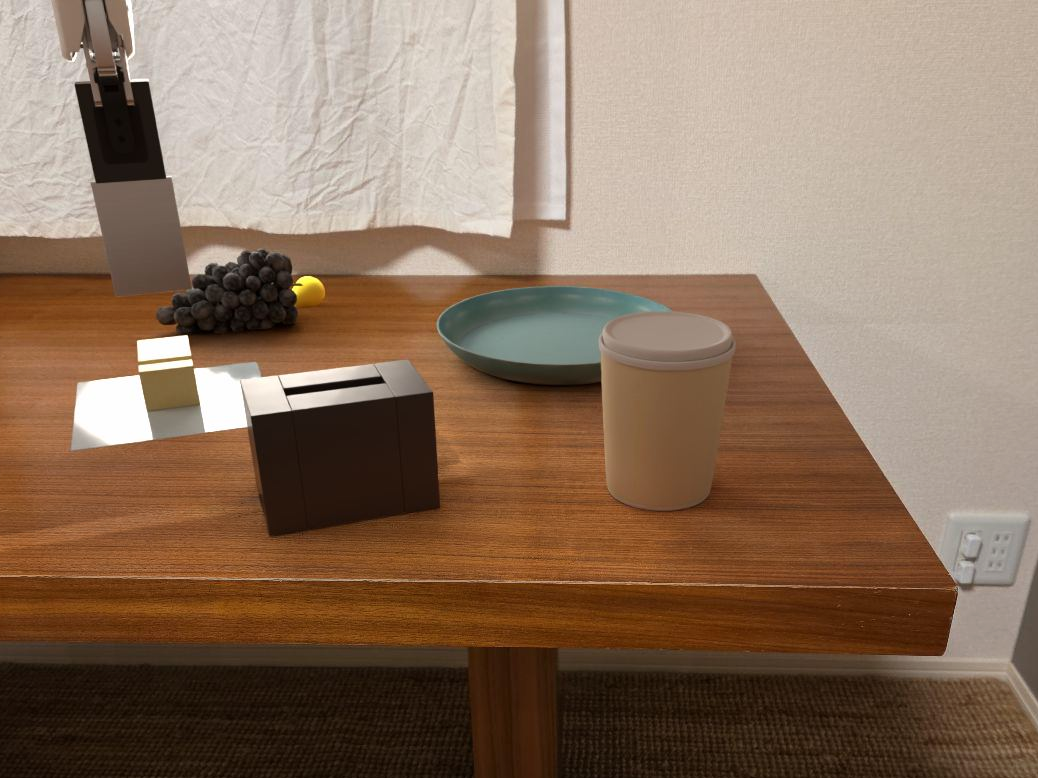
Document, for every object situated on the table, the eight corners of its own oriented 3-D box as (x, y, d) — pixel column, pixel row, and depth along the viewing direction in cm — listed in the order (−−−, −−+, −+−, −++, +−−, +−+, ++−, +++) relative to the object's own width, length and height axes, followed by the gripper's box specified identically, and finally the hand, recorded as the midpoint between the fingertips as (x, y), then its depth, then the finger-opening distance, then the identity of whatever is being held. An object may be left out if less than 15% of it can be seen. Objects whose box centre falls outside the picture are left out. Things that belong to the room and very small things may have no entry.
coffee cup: (667, 450, 80) (677, 302, 74) (748, 495, 73) (766, 335, 68) (570, 479, 76) (572, 323, 70) (647, 529, 69) (656, 362, 63)
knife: (115, 299, 82) (68, 84, 74) (115, 293, 83) (69, 81, 75) (192, 292, 83) (154, 80, 76) (191, 285, 85) (153, 78, 77)
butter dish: (72, 462, 79) (70, 451, 78) (79, 392, 92) (76, 382, 92) (280, 433, 84) (278, 422, 83) (258, 371, 97) (256, 361, 96)
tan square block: (146, 411, 85) (138, 372, 84) (146, 404, 87) (138, 365, 85) (200, 404, 87) (193, 365, 85) (199, 397, 88) (192, 359, 86)
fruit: (143, 258, 98) (298, 240, 103) (143, 267, 106) (287, 249, 110) (163, 348, 100) (314, 326, 105) (163, 350, 107) (303, 329, 112)
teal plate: (400, 382, 94) (398, 348, 92) (482, 308, 114) (481, 279, 113) (657, 407, 88) (659, 371, 87) (695, 324, 108) (698, 294, 107)
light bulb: (333, 304, 116) (328, 279, 113) (291, 329, 113) (286, 304, 110) (314, 290, 117) (309, 265, 114) (272, 315, 114) (266, 290, 112)
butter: (145, 400, 88) (137, 361, 86) (144, 377, 93) (136, 340, 91) (198, 393, 89) (191, 355, 87) (194, 371, 94) (187, 334, 92)
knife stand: (269, 536, 68) (250, 416, 64) (257, 493, 74) (239, 379, 70) (440, 507, 72) (433, 391, 68) (416, 468, 78) (408, 358, 73)
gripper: (19, -116, 75) (78, 148, 84) (-1, -134, 62) (70, 181, 71) (127, -115, 77) (172, 142, 86) (129, -132, 64) (182, 173, 73)
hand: (126, 158), depth 78 cm, fingers closed on knife, 2 cm apart
